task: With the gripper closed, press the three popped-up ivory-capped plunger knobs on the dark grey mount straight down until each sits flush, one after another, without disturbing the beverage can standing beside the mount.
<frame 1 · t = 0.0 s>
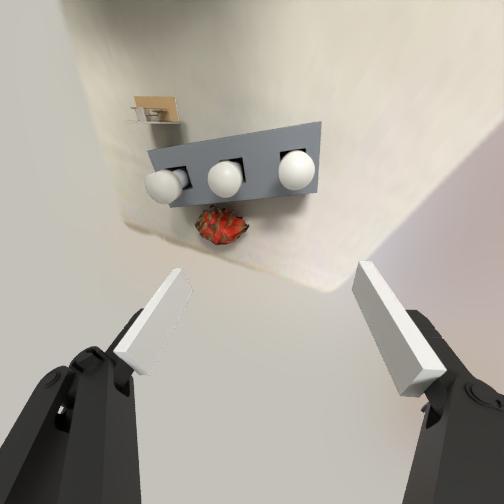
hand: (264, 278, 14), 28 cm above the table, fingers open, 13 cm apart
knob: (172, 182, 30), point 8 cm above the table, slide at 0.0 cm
architectural model: (166, 116, 33), on the table
knob mid: (229, 175, 28), point 9 cm above the table, slide at 0.0 cm
dragon fruit: (226, 218, 43), on the table
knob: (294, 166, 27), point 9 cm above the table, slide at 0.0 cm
mount: (239, 165, 35), on the table
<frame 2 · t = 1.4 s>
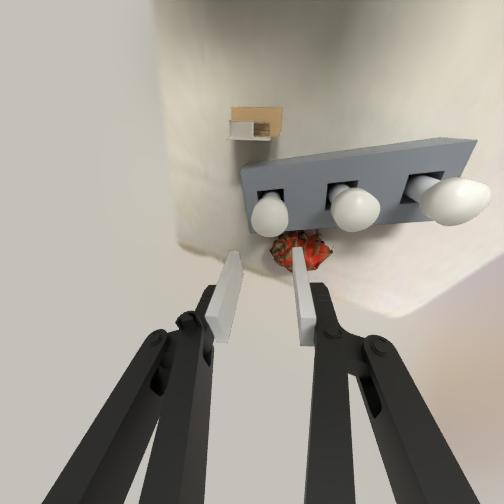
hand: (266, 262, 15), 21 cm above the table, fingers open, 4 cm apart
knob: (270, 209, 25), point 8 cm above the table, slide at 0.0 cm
architectural model: (253, 129, 28), on the table
knob mid: (346, 202, 24), point 8 cm above the table, slide at 0.0 cm
dragon fruit: (298, 240, 38), on the table
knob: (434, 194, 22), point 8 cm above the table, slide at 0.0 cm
mount: (330, 185, 31), on the table
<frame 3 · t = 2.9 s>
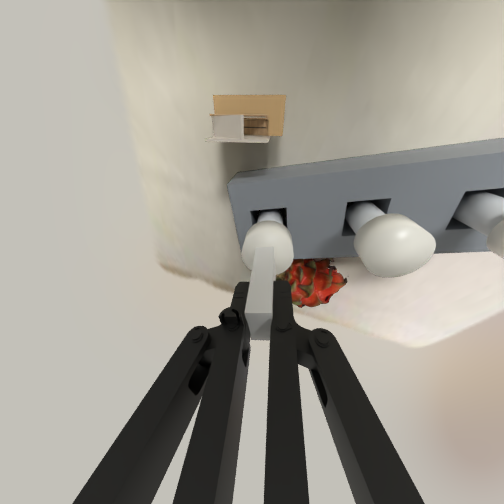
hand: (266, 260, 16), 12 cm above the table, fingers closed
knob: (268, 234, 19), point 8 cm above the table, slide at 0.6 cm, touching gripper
architectural model: (247, 126, 21), on the table
knob mid: (375, 230, 17), point 8 cm above the table, slide at 0.0 cm
dragon fruit: (304, 263, 31), on the table
mount: (346, 199, 24), on the table
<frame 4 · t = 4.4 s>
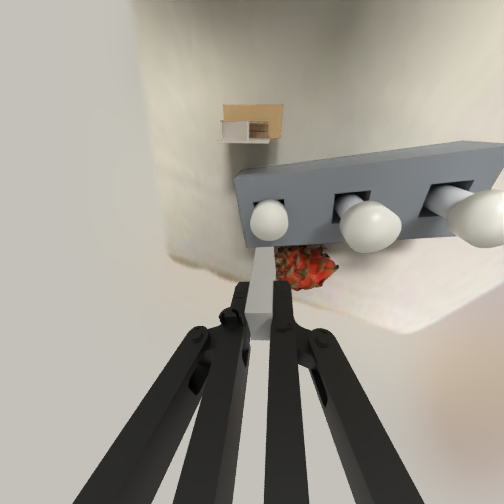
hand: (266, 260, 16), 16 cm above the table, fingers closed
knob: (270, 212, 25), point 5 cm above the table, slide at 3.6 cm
architectural model: (250, 130, 24), on the table
knob mid: (357, 216, 20), point 9 cm above the table, slide at 0.0 cm
dragon fruit: (300, 253, 34), on the table
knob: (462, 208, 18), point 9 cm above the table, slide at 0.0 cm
mount: (337, 193, 27), on the table
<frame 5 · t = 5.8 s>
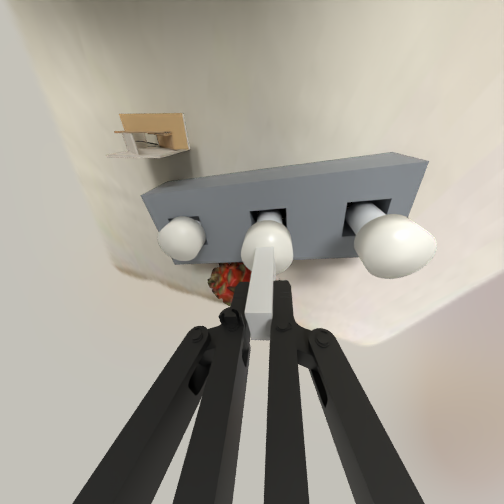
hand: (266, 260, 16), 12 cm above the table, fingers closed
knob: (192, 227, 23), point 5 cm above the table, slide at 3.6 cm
architectural model: (169, 139, 23), on the table
knob mid: (268, 233, 19), point 8 cm above the table, slide at 0.8 cm, touching gripper
dragon fruit: (247, 266, 33), on the table
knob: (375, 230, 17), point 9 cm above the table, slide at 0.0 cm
mount: (270, 206, 25), on the table
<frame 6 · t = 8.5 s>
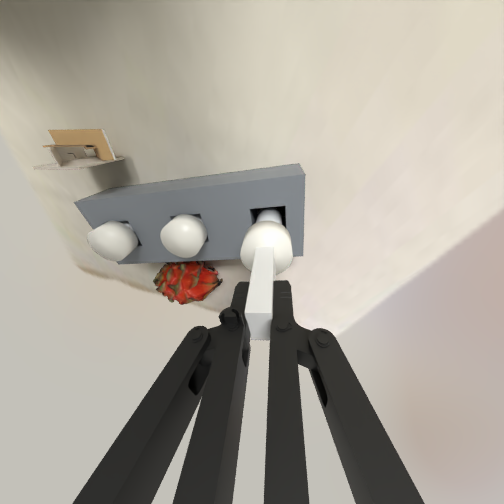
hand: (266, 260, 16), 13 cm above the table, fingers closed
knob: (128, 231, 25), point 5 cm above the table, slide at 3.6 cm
architectural model: (105, 150, 25), on the table
knob mid: (193, 225, 24), point 5 cm above the table, slide at 3.6 cm
dragon fruit: (197, 265, 35), on the table
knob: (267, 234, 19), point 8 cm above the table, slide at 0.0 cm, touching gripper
mount: (205, 211, 28), on the table
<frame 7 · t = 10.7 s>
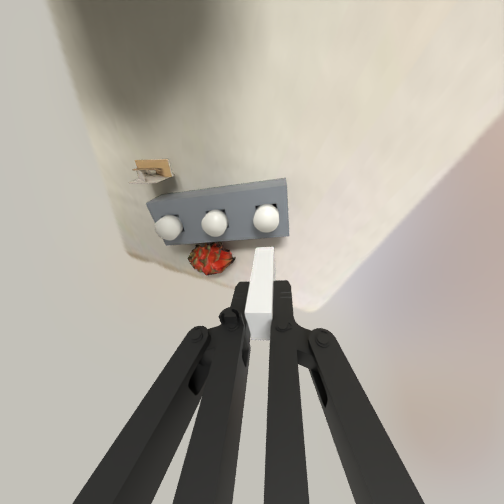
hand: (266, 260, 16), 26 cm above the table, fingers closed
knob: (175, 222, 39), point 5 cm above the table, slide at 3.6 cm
architectural model: (162, 170, 39), on the table
knob mid: (219, 217, 37), point 5 cm above the table, slide at 3.6 cm
dragon fruit: (216, 249, 48), on the table
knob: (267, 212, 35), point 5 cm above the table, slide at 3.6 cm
mount: (224, 209, 41), on the table
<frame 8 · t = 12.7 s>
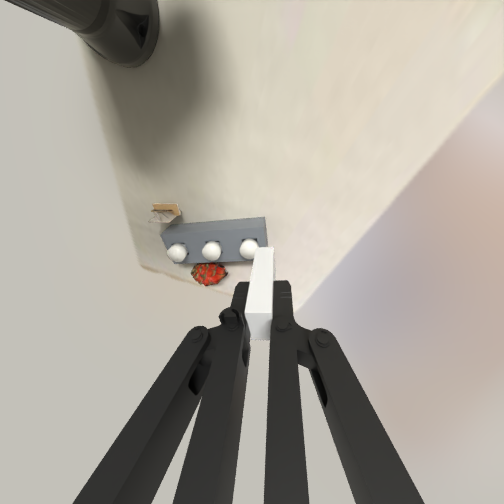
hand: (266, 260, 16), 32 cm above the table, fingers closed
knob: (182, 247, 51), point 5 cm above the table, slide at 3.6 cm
architectural model: (172, 207, 51), on the table
knob mid: (215, 245, 49), point 5 cm above the table, slide at 3.6 cm
dragon fruit: (213, 265, 61), on the table
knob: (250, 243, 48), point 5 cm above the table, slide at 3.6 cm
mount: (219, 236, 53), on the table
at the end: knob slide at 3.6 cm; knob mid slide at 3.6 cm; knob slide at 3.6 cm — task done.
